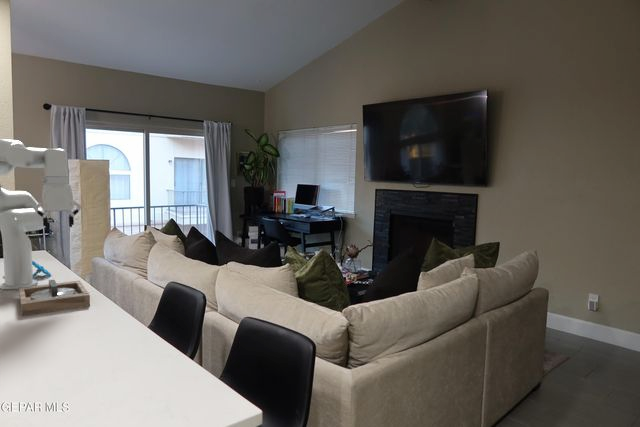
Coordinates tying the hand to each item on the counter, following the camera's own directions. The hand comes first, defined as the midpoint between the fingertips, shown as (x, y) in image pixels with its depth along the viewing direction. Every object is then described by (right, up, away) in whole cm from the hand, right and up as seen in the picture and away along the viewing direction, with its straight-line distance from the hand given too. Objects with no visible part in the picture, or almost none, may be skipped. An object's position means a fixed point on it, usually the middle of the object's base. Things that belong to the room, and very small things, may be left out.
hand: (58, 227), depth 169 cm
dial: (+4, -25, -10) cm, 27 cm away
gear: (-24, -23, +27) cm, 43 cm away
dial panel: (+4, -27, -9) cm, 29 cm away
